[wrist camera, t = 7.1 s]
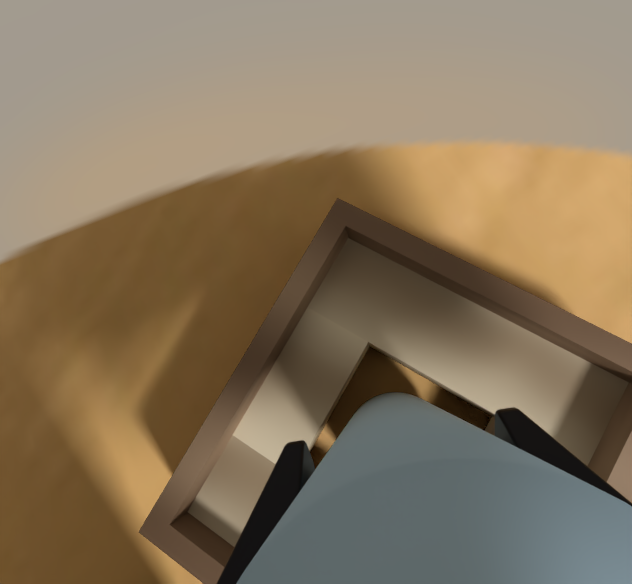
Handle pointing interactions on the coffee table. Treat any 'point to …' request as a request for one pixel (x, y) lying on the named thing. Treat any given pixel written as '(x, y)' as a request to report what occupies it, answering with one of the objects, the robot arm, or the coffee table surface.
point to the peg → (441, 511)
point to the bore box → (405, 348)
